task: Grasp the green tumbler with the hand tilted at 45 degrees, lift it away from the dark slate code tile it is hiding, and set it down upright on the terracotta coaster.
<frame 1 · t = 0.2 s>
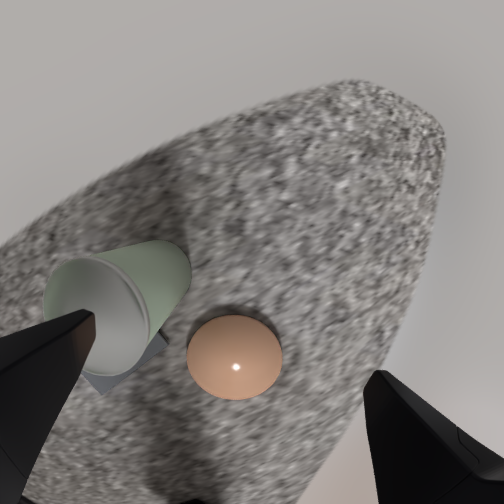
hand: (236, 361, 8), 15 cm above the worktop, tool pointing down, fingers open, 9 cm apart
green tumbler: (158, 273, 23), on the worktop
code tile: (103, 338, 23), on the worktop
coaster: (234, 358, 24), on the worktop
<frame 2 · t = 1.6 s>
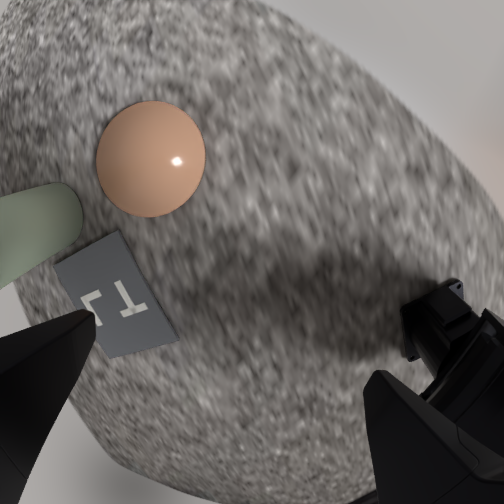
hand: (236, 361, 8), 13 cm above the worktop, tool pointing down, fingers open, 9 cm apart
green tumbler: (57, 215, 20), on the worktop
code tile: (112, 301, 22), on the worktop
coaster: (149, 158, 19), on the worktop
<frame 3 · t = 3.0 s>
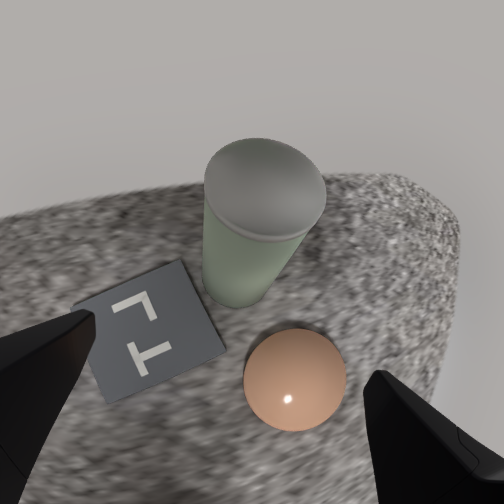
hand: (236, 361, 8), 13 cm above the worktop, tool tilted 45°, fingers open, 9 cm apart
green tumbler: (236, 275, 24), on the worktop
code tile: (142, 331, 20), on the worktop
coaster: (295, 380, 21), on the worktop
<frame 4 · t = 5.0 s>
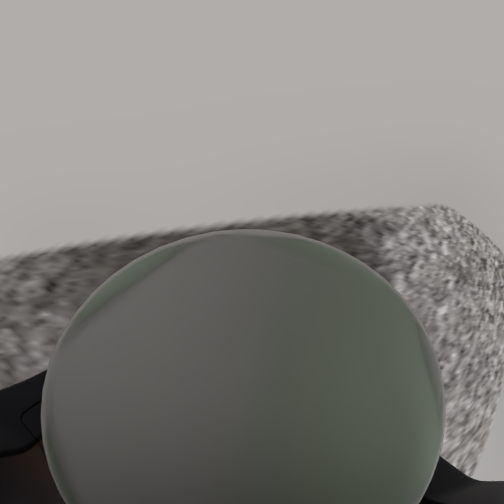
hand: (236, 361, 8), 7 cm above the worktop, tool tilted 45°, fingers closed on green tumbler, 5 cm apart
green tumbler: (216, 394, 14), on the worktop, touching gripper
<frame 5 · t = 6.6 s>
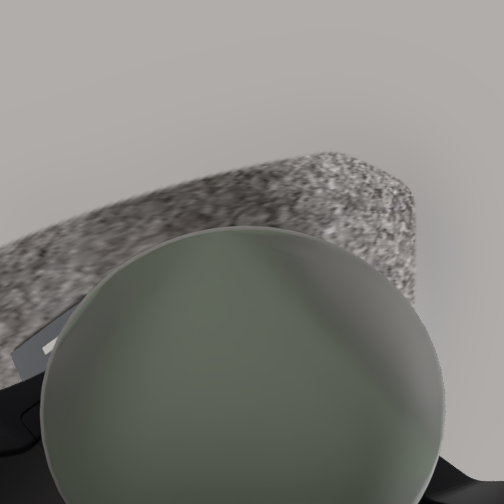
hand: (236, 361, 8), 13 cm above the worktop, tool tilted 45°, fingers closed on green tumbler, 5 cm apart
green tumbler: (216, 393, 14), point 7 cm above the worktop, touching gripper
code tile: (72, 369, 18), on the worktop
when the fingers open (8 cm above the worktop, at t = 8.2 s): green tumbler stays where it is, resting on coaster.
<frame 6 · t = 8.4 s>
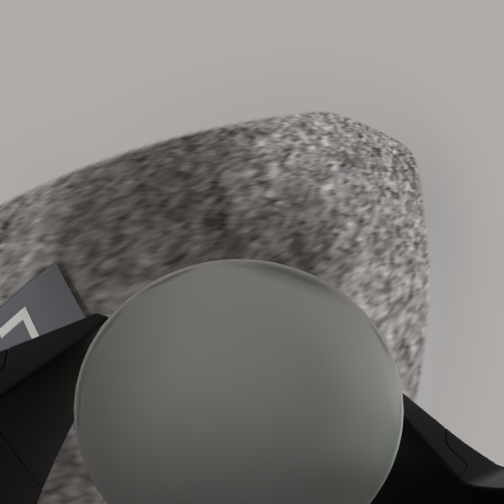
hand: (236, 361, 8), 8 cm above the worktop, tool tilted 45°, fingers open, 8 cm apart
green tumbler: (215, 395, 14), point 1 cm above the worktop, touching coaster
code tile: (30, 354, 14), on the worktop
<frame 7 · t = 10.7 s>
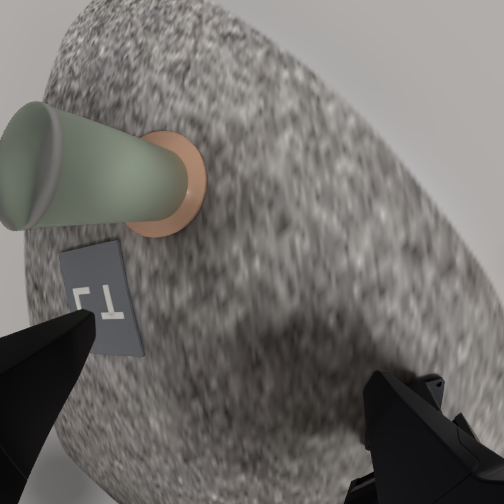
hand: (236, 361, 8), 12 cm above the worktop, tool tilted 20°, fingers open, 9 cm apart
green tumbler: (155, 184, 20), point 1 cm above the worktop, touching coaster
code tile: (97, 302, 24), on the worktop
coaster: (158, 183, 21), on the worktop
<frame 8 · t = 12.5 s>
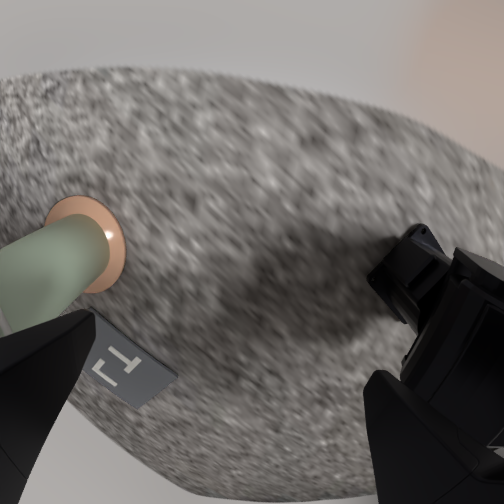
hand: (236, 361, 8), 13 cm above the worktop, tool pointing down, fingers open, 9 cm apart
green tumbler: (81, 247, 20), point 1 cm above the worktop, touching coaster
code tile: (115, 363, 25), on the worktop
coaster: (83, 244, 21), on the worktop
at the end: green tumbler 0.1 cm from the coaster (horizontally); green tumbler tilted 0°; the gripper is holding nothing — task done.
